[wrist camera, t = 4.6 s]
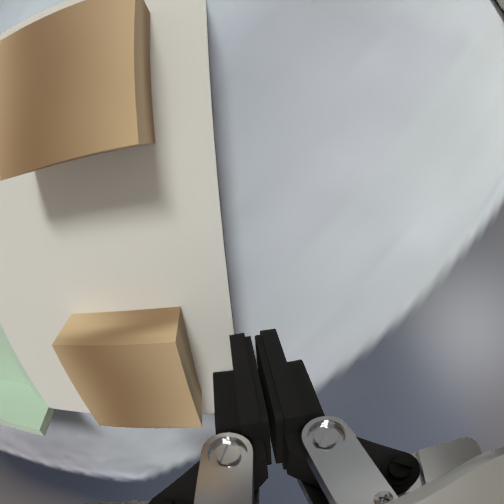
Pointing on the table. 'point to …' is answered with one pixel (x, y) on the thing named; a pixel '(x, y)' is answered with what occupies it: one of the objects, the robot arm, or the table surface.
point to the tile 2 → (132, 367)
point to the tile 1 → (75, 85)
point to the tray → (20, 394)
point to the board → (124, 222)
